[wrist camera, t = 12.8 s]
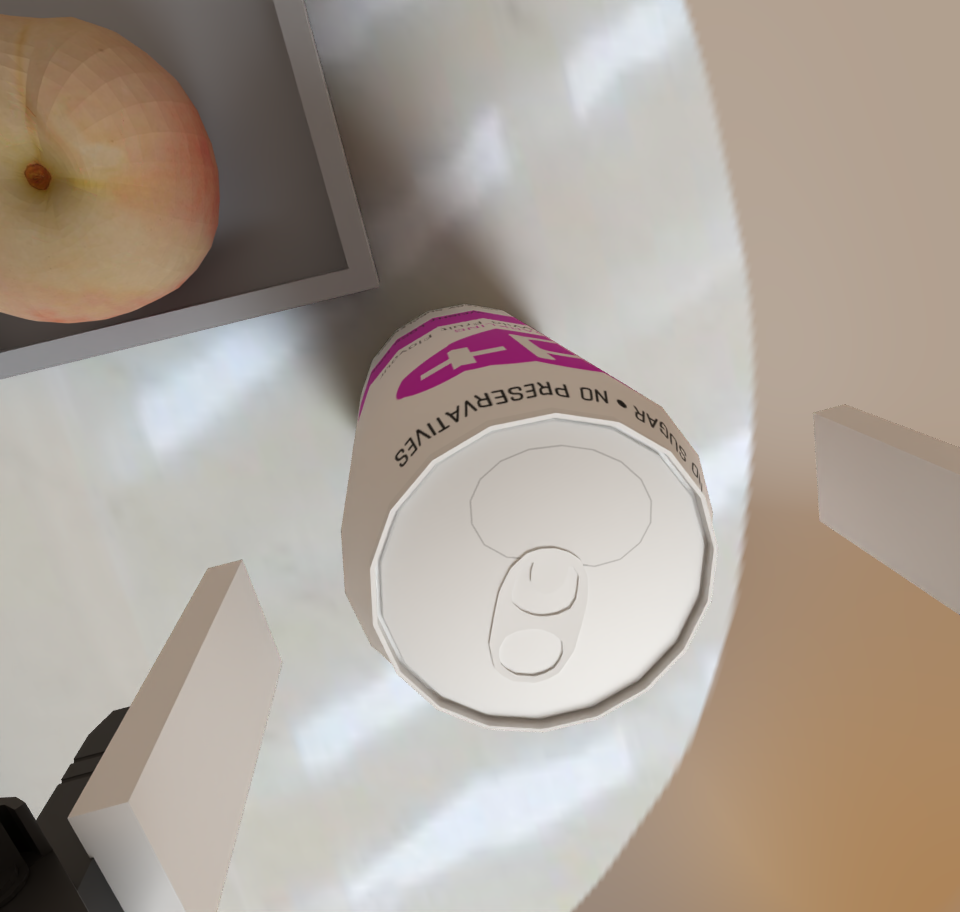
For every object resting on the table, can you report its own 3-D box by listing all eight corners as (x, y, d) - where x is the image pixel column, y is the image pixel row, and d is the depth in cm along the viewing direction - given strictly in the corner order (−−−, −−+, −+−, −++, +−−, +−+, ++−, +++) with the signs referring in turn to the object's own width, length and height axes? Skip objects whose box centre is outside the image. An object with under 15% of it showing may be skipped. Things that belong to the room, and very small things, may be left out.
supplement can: (375, 286, 25) (364, 348, 11) (581, 322, 27) (799, 416, 13) (348, 486, 28) (313, 744, 14) (540, 509, 29) (687, 763, 15)
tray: (-21, 378, 25) (-74, 397, 22) (-346, -289, 18) (-480, -385, 15) (379, 281, 25) (378, 287, 23) (199, -389, 19) (167, -497, 16)
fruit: (242, 317, 25) (180, 353, 17) (2, 297, 23) (-181, 326, 16) (242, 74, 22) (169, -10, 15) (-26, 37, 21) (-257, -76, 13)
